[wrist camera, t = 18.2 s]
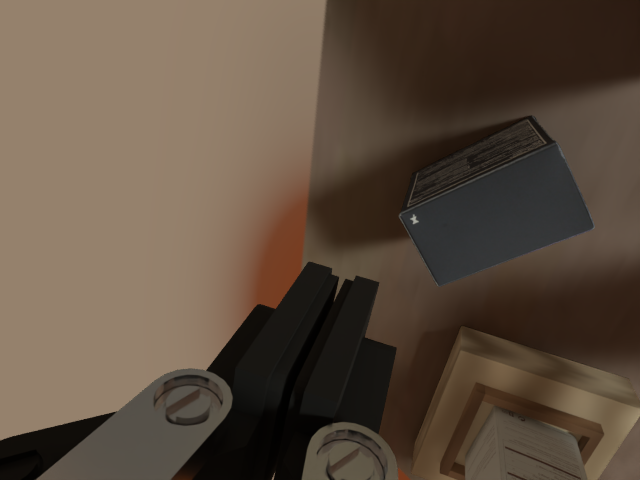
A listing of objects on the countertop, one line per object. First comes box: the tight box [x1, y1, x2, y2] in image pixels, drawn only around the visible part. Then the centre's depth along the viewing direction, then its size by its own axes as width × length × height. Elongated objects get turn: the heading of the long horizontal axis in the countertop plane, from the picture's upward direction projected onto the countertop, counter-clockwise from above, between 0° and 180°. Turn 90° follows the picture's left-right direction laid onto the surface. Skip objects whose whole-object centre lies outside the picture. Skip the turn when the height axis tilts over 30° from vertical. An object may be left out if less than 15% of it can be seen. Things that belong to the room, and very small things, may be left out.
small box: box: [399, 116, 595, 287], centre depth 35 cm, size 11×6×10 cm, turn 121°
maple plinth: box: [411, 326, 640, 480], centre depth 45 cm, size 15×16×5 cm
